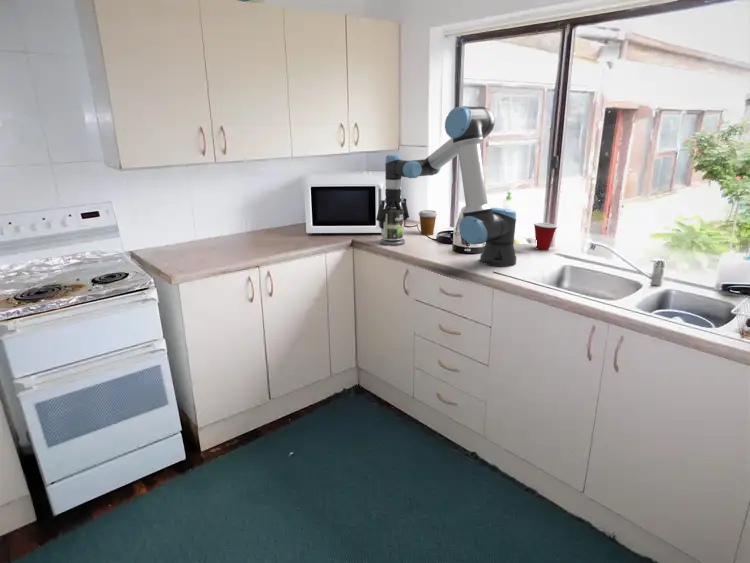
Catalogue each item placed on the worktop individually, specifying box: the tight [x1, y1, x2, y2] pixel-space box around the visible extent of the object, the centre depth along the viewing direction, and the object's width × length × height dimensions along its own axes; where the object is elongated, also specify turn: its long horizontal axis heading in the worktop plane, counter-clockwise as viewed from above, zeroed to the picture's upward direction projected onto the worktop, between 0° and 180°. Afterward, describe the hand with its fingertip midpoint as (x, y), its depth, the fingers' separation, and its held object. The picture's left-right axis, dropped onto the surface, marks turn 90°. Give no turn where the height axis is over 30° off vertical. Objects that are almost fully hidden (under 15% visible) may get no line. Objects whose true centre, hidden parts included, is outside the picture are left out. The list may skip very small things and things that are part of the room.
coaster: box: [380, 237, 406, 247], centre depth 248 cm, size 12×12×2 cm
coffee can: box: [381, 207, 404, 240], centre depth 245 cm, size 10×10×14 cm
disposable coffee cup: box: [418, 209, 438, 236], centre depth 264 cm, size 10×10×12 cm
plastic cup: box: [533, 222, 558, 251], centre depth 236 cm, size 11×11×12 cm
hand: (392, 233), depth 247 cm, fingers closed on coffee can, 10 cm apart
